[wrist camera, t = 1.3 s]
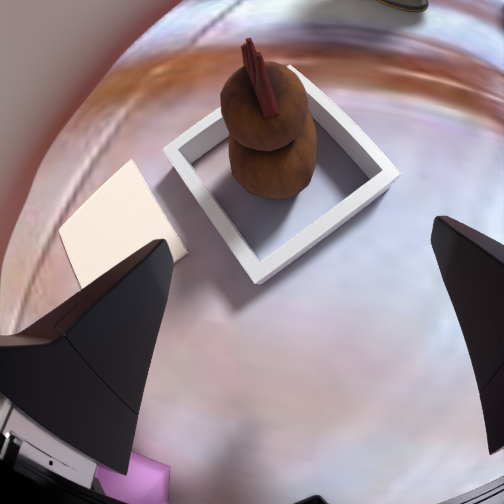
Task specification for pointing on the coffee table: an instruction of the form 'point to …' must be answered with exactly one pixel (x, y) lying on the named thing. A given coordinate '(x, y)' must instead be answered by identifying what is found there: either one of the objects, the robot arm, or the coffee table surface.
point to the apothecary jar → (407, 4)
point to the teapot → (137, 481)
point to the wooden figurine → (268, 127)
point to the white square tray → (381, 180)
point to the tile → (116, 225)
